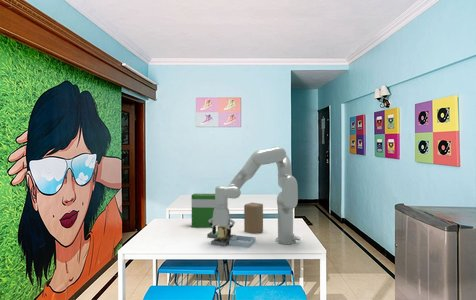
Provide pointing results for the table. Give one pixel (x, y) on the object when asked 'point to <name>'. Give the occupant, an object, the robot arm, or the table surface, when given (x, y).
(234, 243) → the tray
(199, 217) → the hardback book
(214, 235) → the grey button housing
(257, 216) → the wooden block
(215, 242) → the metal compartment tray
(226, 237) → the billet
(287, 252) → the table surface
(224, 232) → the billet
